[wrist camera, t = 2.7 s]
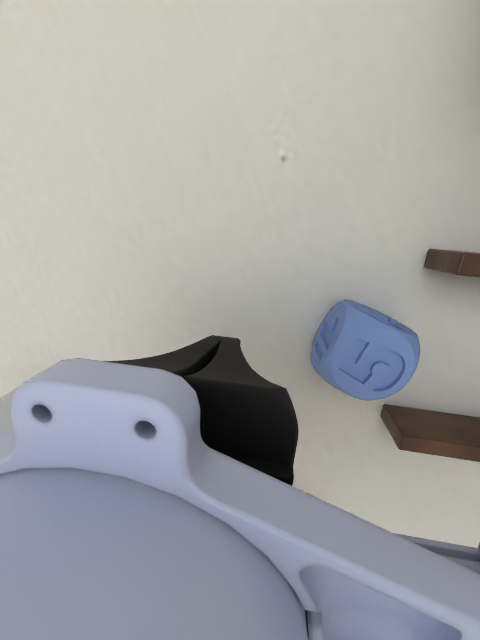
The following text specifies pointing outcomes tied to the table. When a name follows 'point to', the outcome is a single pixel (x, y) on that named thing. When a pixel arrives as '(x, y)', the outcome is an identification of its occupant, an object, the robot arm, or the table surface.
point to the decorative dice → (364, 352)
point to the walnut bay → (428, 426)
